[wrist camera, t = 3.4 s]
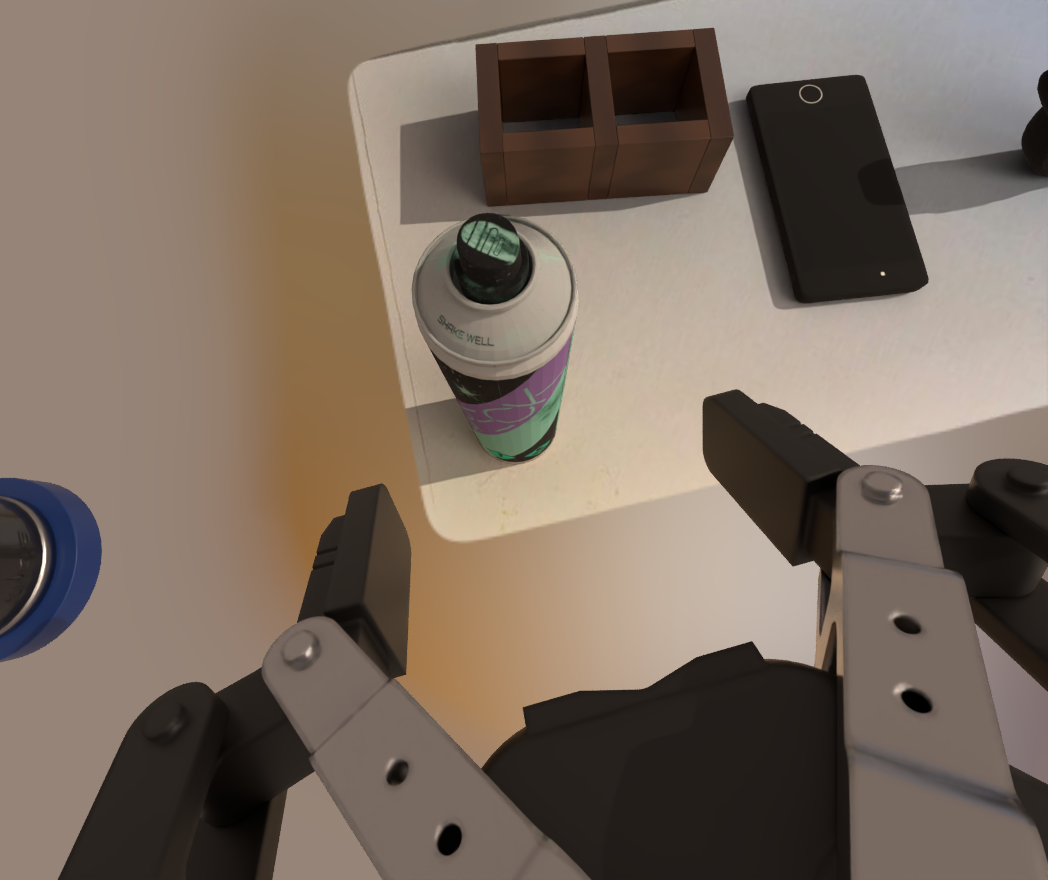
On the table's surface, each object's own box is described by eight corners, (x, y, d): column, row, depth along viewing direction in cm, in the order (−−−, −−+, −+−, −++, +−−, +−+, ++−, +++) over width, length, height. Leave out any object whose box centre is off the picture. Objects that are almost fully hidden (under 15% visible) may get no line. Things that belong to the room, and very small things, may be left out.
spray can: (469, 393, 33) (373, 171, 13) (548, 378, 33) (565, 136, 14) (483, 471, 32) (399, 350, 12) (564, 455, 32) (609, 312, 12)
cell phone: (856, 84, 38) (864, 72, 37) (921, 292, 34) (932, 285, 33) (743, 96, 38) (748, 84, 37) (795, 305, 34) (802, 298, 33)
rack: (487, 206, 36) (480, 153, 31) (483, 108, 38) (475, 44, 33) (707, 192, 36) (734, 136, 31) (691, 94, 38) (714, 27, 33)
